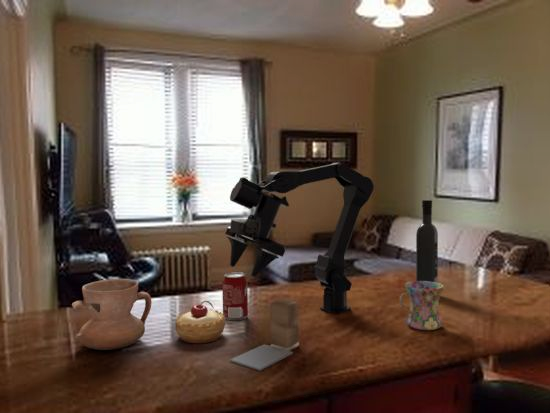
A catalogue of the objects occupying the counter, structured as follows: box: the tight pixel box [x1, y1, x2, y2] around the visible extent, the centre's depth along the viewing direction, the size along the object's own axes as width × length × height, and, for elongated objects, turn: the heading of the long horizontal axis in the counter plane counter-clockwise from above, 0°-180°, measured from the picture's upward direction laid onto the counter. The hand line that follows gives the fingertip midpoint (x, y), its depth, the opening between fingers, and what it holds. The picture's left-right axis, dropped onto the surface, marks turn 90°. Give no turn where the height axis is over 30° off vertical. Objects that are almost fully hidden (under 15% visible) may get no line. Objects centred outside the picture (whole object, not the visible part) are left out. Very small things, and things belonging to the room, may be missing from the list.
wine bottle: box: [415, 199, 439, 283], centre depth 147 cm, size 6×6×30 cm
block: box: [269, 298, 300, 351], centre depth 106 cm, size 4×4×10 cm
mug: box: [398, 280, 445, 331], centre depth 117 cm, size 12×9×11 cm
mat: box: [230, 344, 294, 372], centre depth 100 cm, size 11×8×1 cm
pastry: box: [174, 300, 226, 344], centre depth 113 cm, size 12×12×9 cm
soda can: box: [221, 272, 249, 322], centre depth 128 cm, size 7×7×12 cm
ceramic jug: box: [71, 278, 152, 351], centre depth 109 cm, size 18×14×14 cm
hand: (242, 271), depth 123 cm, fingers open, 9 cm apart
